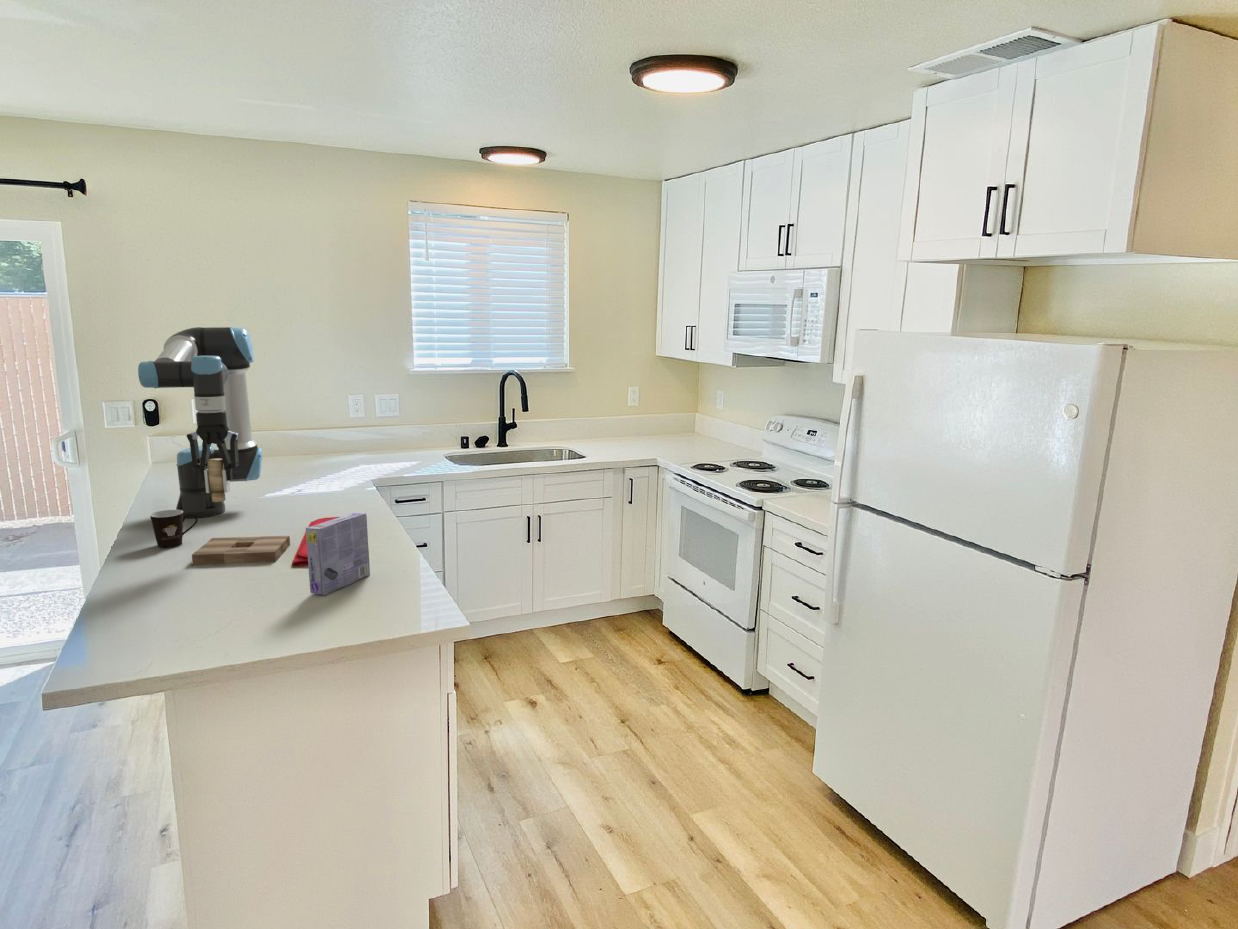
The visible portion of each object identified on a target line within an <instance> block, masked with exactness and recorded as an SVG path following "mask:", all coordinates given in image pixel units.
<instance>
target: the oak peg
mask: <svg viewBox="0 0 1238 929" xmlns="http://www.w3.org/2000/svg"><path fill="white" fill-rule="evenodd" d="M207 463H208V473H209V484H210V492H211V493H212V502H222V501H224V502H225V501H226V493H224V485H223V474H222V470H224V464H223V461H222V459H209V460H207Z"/></svg>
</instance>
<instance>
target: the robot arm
mask: <svg viewBox="0 0 1238 929" xmlns="http://www.w3.org/2000/svg"><path fill="white" fill-rule="evenodd" d="M254 361H255V356H254V349H253V344H252V341H251V338H250V335H249V332H248V331H247V330H246V329H245V328H242V327H232V326H231V327H229V326H227V327H224V326H221V327H220V326H219V327H212V326H211V327H198V326H197V327H191V328H186V329H184V330H181V331H178V332H176V333H174V334H172V335H171V336H169V337H168V338H167V339H166V340H165V342H164V345H163V350H162V351H161V353H160V354H159V355H158V356H157V357H156V359H155V360H153V361H152V360H148V361H141V362H139V364H138V368H137V374H138V375H137V376H138V380H139V383H140V385H141V386H142V387H143V388H149V389H150V388H151V389H165V388H166V389H169V388H173V389H174V388H193V395H194V406H195V408H194V409H195V411H197V412H196V413H195V415H196V417H195V418H196V425H197V426H196V430H195V431H193V432H190V433H188V434H186V439H187V440H188V442H189V448H185V449H181V450H180V451H178V452H177V454H176V466H177V477H178V485H179V496H178V501H177V504H176V507H175V510H181V511H183V517H184V516H185V515H188V514H194V515H196V516H197V519H198V518H207V517H212V516H216V515H219V514H222V513H224V512H225V511H226V504H225V501H222V502H212V493H211V492H210V484H209V473H208V463H207V460H209V459H222V461H223V464H224V470H222V474H223V485H224V493H225V494H227V493H229V492H230V491H231V483H233V482H249V481H250V482H251V481H256V480H259V479H260V477H261V476H262V475H261V473H262V468H263V448H262V447H260V446H258V442H257V441H256V440H254V439H253V438H252V426H251V417H250V416H251V415H250V405H249V397H248V396H249V395H248V394H249V392H248V387H247V374H246V373H247V371H248V370H249V369H250V367H251V364H252V363H254ZM198 438H199V439H201V441H202V443H201V445H199V442H198ZM213 444H214V445H216V447H217V449H215V448H216V447H215V446H214V445H213ZM187 518H188V519H193V518H195V517H194V516H188V517H186V518H185V519H187Z"/></svg>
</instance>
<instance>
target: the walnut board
mask: <svg viewBox="0 0 1238 929" xmlns="http://www.w3.org/2000/svg"><path fill="white" fill-rule="evenodd" d="M290 546H291V538H290V535H267V536H236V537H235V536H233V537H231V536H230V537H212V538H210V539H209V540H208V541H207V542H206V543H204V544H203V545H202V546H201V547H199V548H198V549H197V550H195V551H194V553H192V554H191V559H192V566H201V565H204V566H205V565H227V564H228V565H230V564H231V565H233V564H253V563H254V564H255V563H256V564H257V563H258V564H260V563H276V562H277V561H278V560H279V559H280V558H281V556H282V555H283V554H284V553H285V552H286V551H287V549H288V548H289V547H290Z"/></svg>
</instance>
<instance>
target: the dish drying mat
mask: <svg viewBox="0 0 1238 929" xmlns="http://www.w3.org/2000/svg"><path fill="white" fill-rule="evenodd" d="M340 517H341V516H330V517H323V518H318V519H315V520H313V521H310V523H309V524H308V527H311V526H314V525H317V524H320V523H324V522H326V521H330V520H333V519H336V518H340ZM308 527H307V528H308ZM291 566H292V567H293V568H299V567H308V553H307V541H306V531H304V534H303V537H302V539H301V541H300V544H299V546H298V547H297V550H296V553H295V555H294V557H293V559H292V562H291Z"/></svg>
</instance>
